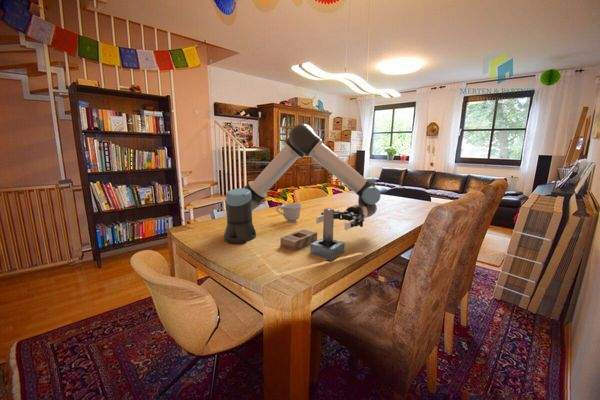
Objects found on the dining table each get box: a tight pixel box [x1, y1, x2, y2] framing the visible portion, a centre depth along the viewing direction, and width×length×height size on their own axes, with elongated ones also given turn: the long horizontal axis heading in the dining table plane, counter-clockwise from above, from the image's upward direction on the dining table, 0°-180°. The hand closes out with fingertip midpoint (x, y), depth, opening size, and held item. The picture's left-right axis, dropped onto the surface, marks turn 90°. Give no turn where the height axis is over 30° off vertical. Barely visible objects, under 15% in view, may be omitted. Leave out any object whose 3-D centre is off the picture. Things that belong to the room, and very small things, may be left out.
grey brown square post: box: [322, 208, 335, 247], centre depth 103 cm, size 4×4×18 cm
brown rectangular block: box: [279, 228, 318, 252], centre depth 114 cm, size 16×8×5 cm, turn 140°
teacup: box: [276, 202, 303, 224], centre depth 151 cm, size 12×15×10 cm
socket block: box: [309, 237, 346, 263], centre depth 105 cm, size 10×10×5 cm
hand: (330, 223), depth 103 cm, fingers open, 13 cm apart
